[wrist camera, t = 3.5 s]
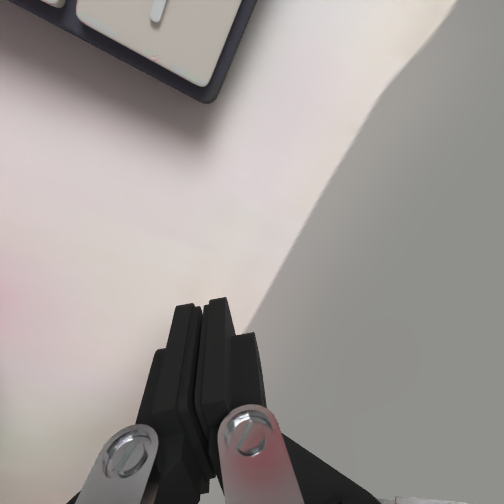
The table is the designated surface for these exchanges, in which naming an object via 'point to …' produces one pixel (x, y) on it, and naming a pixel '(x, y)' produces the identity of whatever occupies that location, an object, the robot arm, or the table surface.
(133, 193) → the table surface
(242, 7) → the calculator
